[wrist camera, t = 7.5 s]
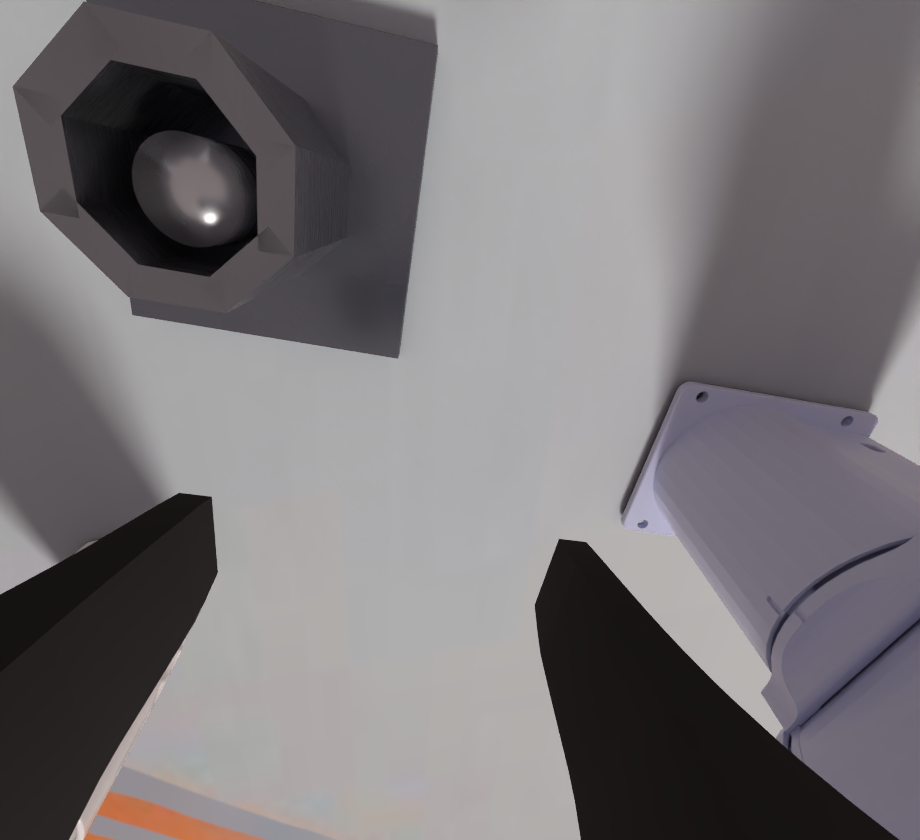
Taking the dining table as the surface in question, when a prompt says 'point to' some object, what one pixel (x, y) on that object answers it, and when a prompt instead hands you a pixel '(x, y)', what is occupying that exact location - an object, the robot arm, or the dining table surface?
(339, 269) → the post
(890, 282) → the dining table surface
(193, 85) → the tube
